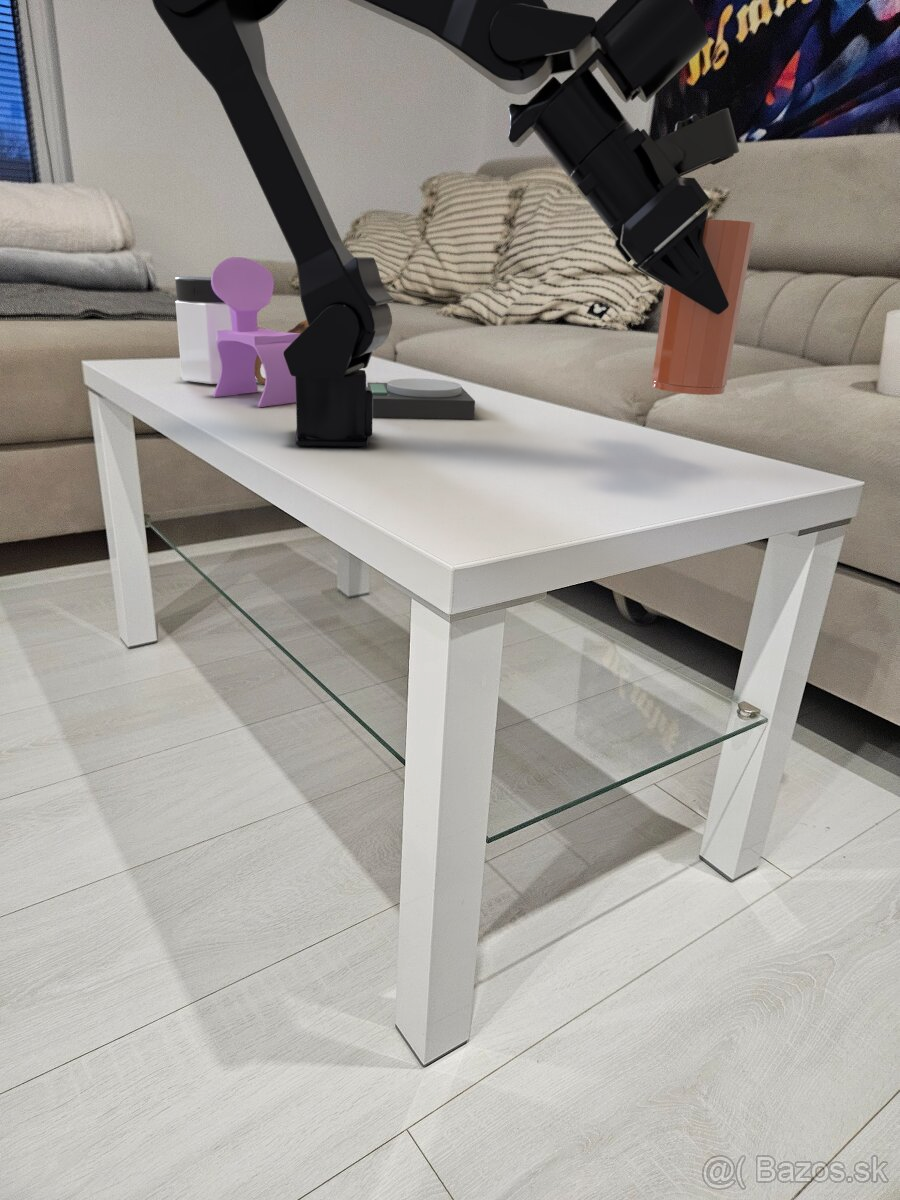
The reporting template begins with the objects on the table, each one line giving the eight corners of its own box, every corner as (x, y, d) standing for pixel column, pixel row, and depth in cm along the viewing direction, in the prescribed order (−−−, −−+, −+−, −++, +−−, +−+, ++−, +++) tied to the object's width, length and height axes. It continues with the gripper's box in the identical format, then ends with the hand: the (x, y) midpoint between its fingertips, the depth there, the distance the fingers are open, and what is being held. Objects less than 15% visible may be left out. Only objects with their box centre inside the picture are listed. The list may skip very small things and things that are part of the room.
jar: (194, 385, 100) (186, 279, 95) (170, 376, 106) (161, 275, 101) (262, 381, 105) (258, 280, 100) (236, 372, 111) (231, 277, 106)
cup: (667, 393, 67) (694, 217, 62) (640, 382, 72) (662, 219, 67) (737, 395, 68) (769, 222, 63) (705, 384, 73) (732, 224, 68)
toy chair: (255, 409, 89) (248, 259, 83) (205, 397, 94) (195, 255, 88) (312, 401, 95) (309, 261, 89) (262, 390, 100) (257, 257, 94)
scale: (372, 417, 88) (373, 390, 87) (367, 399, 98) (367, 375, 97) (474, 419, 90) (475, 393, 89) (458, 401, 100) (459, 377, 99)
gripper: (700, 35, 53) (838, 232, 56) (672, 89, 70) (780, 238, 73) (564, 168, 57) (700, 345, 60) (569, 188, 74) (675, 325, 77)
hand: (717, 308), depth 67 cm, fingers closed on cup, 6 cm apart
